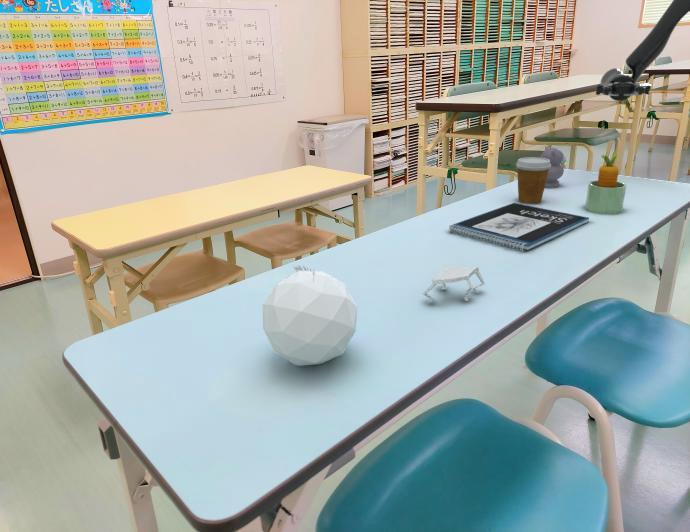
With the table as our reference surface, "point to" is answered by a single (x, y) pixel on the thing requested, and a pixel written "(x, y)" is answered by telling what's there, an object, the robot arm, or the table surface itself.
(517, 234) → the sketchbook
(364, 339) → the table surface
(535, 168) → the disposable coffee cup
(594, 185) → the green cup
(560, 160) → the cat figurine
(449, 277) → the white legged piece
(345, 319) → the geodesic sphere
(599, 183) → the carrot
